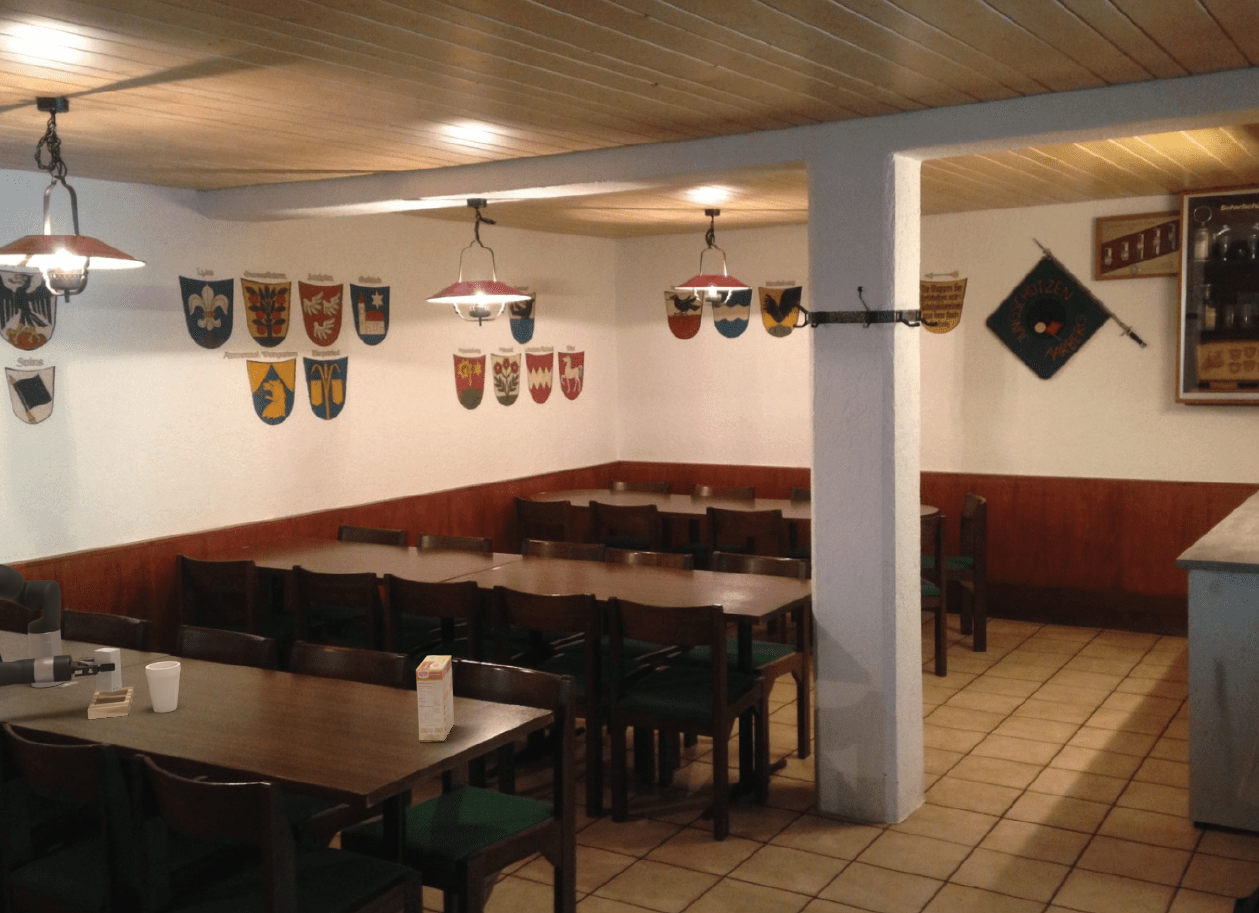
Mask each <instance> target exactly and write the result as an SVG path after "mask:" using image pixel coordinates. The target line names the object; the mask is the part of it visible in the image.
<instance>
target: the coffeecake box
mask: <svg viewBox="0 0 1259 913" xmlns="http://www.w3.org/2000/svg"><path fill="white" fill-rule="evenodd" d="M452 665H453V664H452V655H448V654H447V655H435V654H434V655H432V654H431V655H426V657H425V658H424V659H423V661H422V662H420V664H419V665H418V666H417V668H416V669H415V675H416V677H415V678H416V693H417V695H416V696H417V713H418V714H417V719H418V740H445V739H446V737H447V735H448V734H449V735H450V733H451V732H450V730H451V728H452V727H453V728H454V726H455V719H454V718H455V717H454V716H455V714H454V694H453V693H454V692H453V668H452ZM453 725H454V726H453ZM453 728H452V729H453ZM451 731H452V730H451ZM449 732H450V733H449ZM449 735H448V736H449ZM447 738H448V737H447ZM446 740H447V739H446ZM446 740H445V741H446Z"/></svg>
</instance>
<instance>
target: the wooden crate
mask: <svg viewBox="0 0 1259 913" xmlns="http://www.w3.org/2000/svg"><path fill="white" fill-rule="evenodd" d="M134 697H135V691H134V686H126V687H122V689H120V690H117V691H115V692H101V691H96V690H95V691H94V694H93V695H92V699H91V701H90V703H89V706H88V709H87V720H88V719H96V718H105V719H107V718H106V717H114V718H118V717H117V716H123V717H125V716H124V715H128V714H129V715H130V711H131V709H130V708H132V705H133V702H134ZM132 701H133V702H132ZM131 704H132V705H131ZM96 720H97V719H96Z"/></svg>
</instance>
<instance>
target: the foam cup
mask: <svg viewBox="0 0 1259 913" xmlns="http://www.w3.org/2000/svg"><path fill="white" fill-rule="evenodd" d="M144 670H145V676H146V680H147V684H148V685H147V686H148V690H149V695H150V699H151V700H150V701H151V705H152V709H153V712H155V713H168V712H172V711H175V710H177V709H176V708H178V699H179V688H180V674H181V670H182V669H181V662H179V661H172V660H171V661H169V660H168V661H159V662H153V663H150V664H147V665H146V666H145V669H144Z"/></svg>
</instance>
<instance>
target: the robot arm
mask: <svg viewBox="0 0 1259 913" xmlns="http://www.w3.org/2000/svg"><path fill="white" fill-rule="evenodd" d="M0 598H1V599H4V600H8V601H11V602H13V603H15V604H17V605H18V606H20V607H21V608H24V609H26V610H31V611H36V610H37V611H41V610H43V611H42V612H43V613H42V616H41V617H39V618H38V619H35V620H33V621H30V622H29V623H28V625H27V637H28V638H27V639H28V652H29V654H28V655H29V658H25V659H24V658H23V659H22V658H21V659H17V660H15V661H3V658H2V655H1V653H0V687H6V686H12V685H30V684H31V687H32V688H39V689H40V688H50V687H54V686H58V685H59V686H60V685H61V684H63V683H64V682H70V681H72V680H73V678H74V677H75V678H78V677H87V676H95V675H97V674H98V673H101V672H108V671H114V670H115V663H106V664H101V666H100V664H95V661H94V656H88V657H87V656H86V657H82V656H81V657H80V658H79V659H78V660H76V661H75V660H74V661H73V656H72V655H70V654H63V651H62V636H61V634H62V633H61V619H62V607H61V606H62V600H61V599H62V593H61V588H60V584H59V582H57V581H56V580H54V579H53V580H52V579H48V580H45V579H43V580H26V579H24V576H23V575H22V573H21V572H20V571H18V569H15V568H13V567H11V566H8V565H5V564H2V563H0Z"/></svg>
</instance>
